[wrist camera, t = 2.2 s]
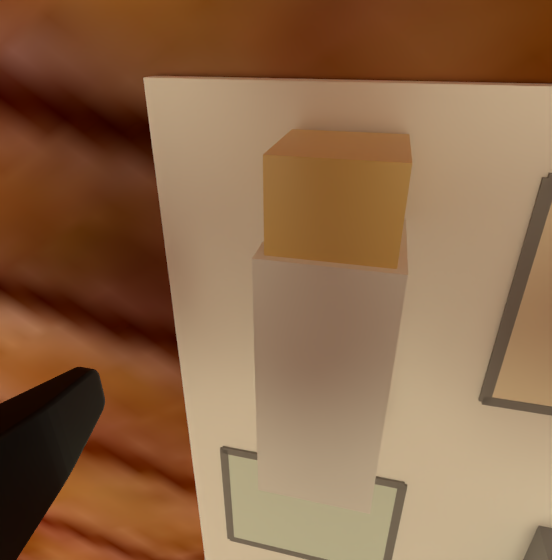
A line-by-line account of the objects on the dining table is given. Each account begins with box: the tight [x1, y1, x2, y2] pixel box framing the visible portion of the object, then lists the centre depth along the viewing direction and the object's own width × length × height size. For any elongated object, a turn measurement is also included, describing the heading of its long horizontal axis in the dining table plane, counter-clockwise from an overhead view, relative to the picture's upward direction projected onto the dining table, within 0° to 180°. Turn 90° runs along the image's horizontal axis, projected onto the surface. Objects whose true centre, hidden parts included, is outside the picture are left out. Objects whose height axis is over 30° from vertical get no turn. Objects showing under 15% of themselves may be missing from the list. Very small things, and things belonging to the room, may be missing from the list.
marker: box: [252, 129, 412, 514], centre depth 11 cm, size 9×3×3 cm, turn 1°
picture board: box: [143, 76, 552, 560], centre depth 14 cm, size 20×18×1 cm
